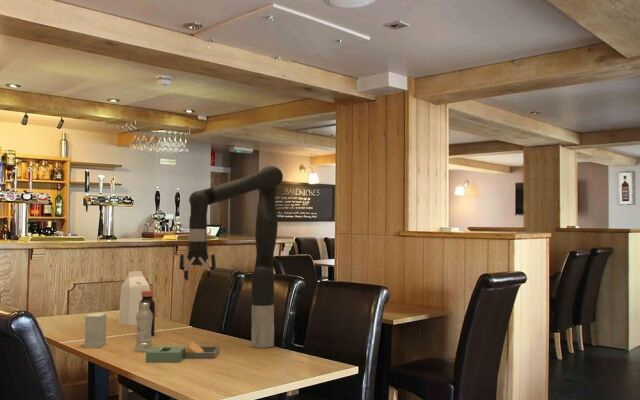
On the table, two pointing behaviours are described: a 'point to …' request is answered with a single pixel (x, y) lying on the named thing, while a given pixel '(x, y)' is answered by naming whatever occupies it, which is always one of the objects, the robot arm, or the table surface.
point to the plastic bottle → (144, 328)
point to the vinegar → (148, 298)
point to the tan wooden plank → (194, 348)
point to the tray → (203, 355)
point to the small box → (95, 330)
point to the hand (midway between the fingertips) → (197, 280)
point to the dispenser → (165, 354)
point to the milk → (131, 297)
